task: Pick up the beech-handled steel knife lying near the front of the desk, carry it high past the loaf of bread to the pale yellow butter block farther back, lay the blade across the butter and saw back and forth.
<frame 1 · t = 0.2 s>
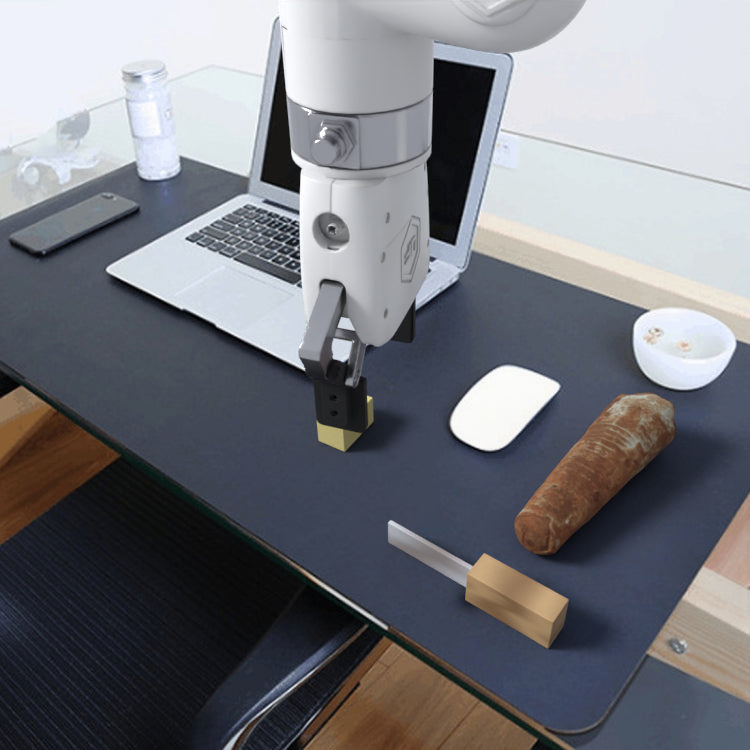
hand: (369, 378, 52), 18 cm above the table, tool pointing down, fingers open, 9 cm apart
bread: (594, 497, 68), on the table
butter: (346, 431, 75), on the table
knife: (513, 612, 59), on the table
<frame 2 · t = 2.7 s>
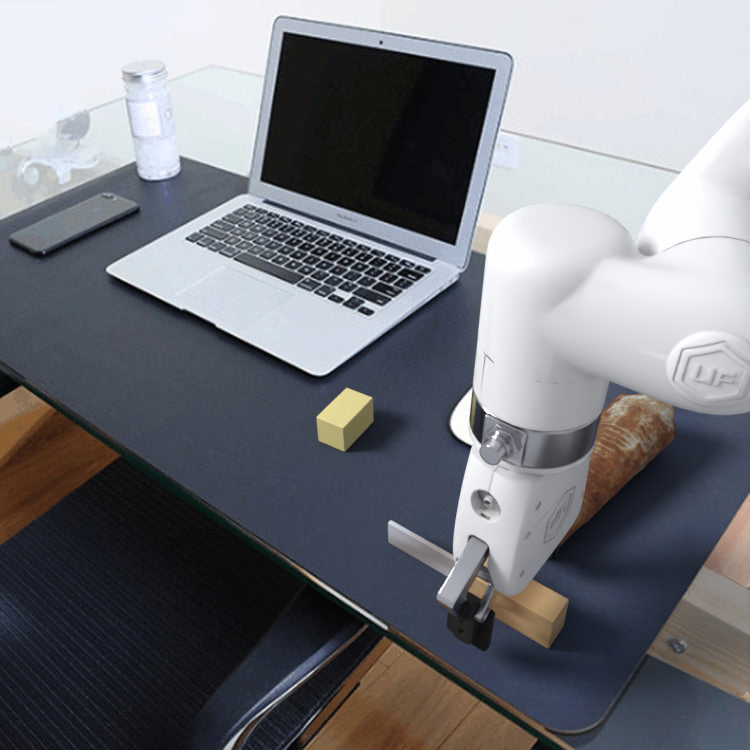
hand: (504, 590, 58), 3 cm above the table, tool pointing down, fingers open, 9 cm apart
bread: (593, 497, 68), on the table, touching gripper
everything else where it was.
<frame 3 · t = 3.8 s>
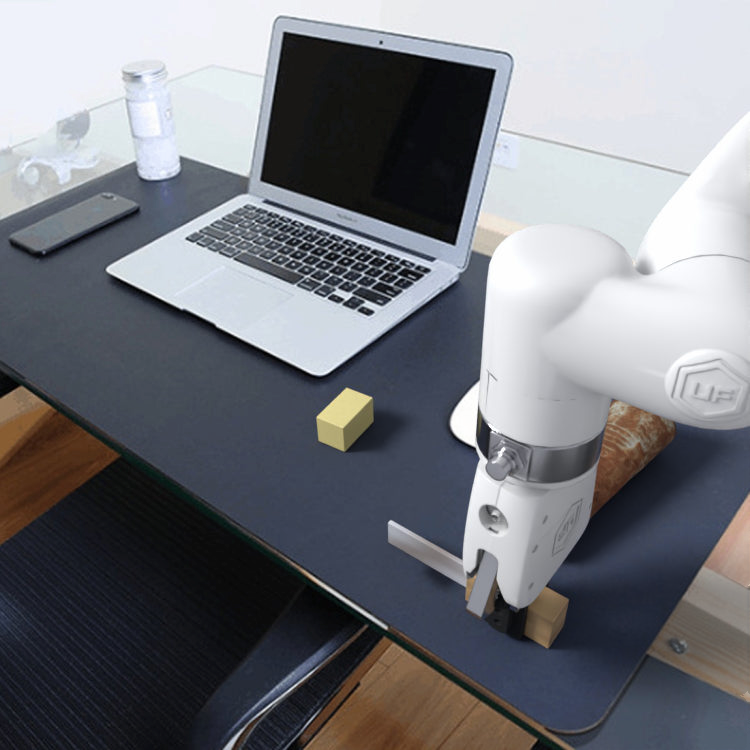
hand: (513, 611, 59), 0 cm above the table, tool pointing down, fingers closed on knife, 2 cm apart
bread: (593, 496, 68), on the table
knife: (513, 612, 59), on the table, touching gripper
everything else where it was.
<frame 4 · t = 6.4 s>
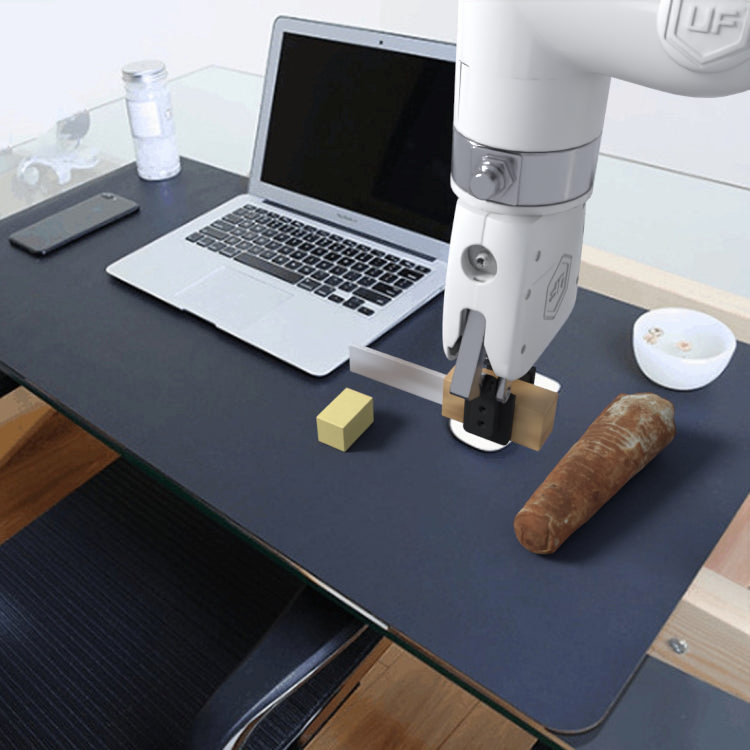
hand: (496, 420, 53), 15 cm above the table, tool pointing down, fingers closed on knife, 2 cm apart
knife: (496, 422, 53), point 15 cm above the table, touching gripper
everything else where it was.
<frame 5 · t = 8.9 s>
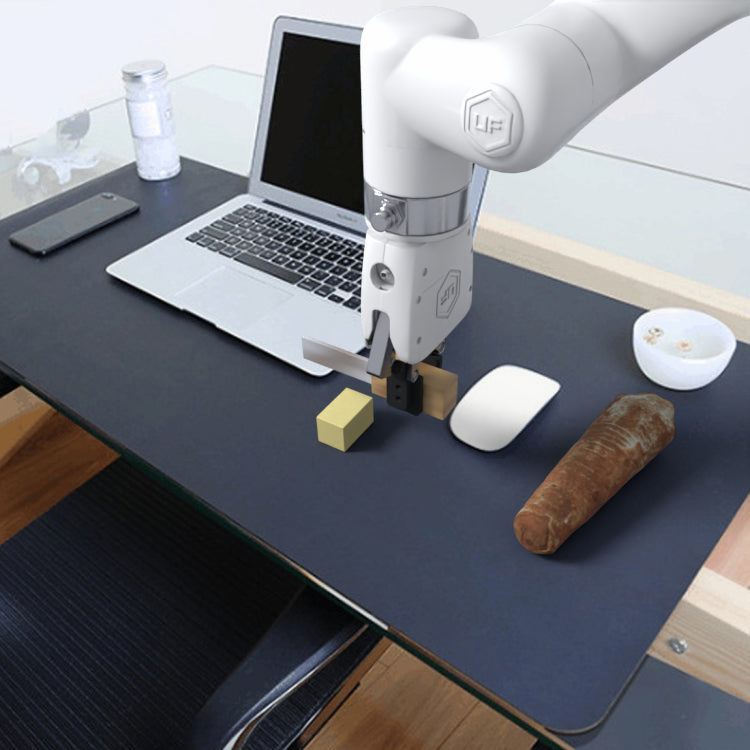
hand: (414, 397, 68), 7 cm above the table, tool pointing down, fingers closed on knife, 2 cm apart
knife: (413, 398, 68), point 7 cm above the table, touching gripper
everything else where it was.
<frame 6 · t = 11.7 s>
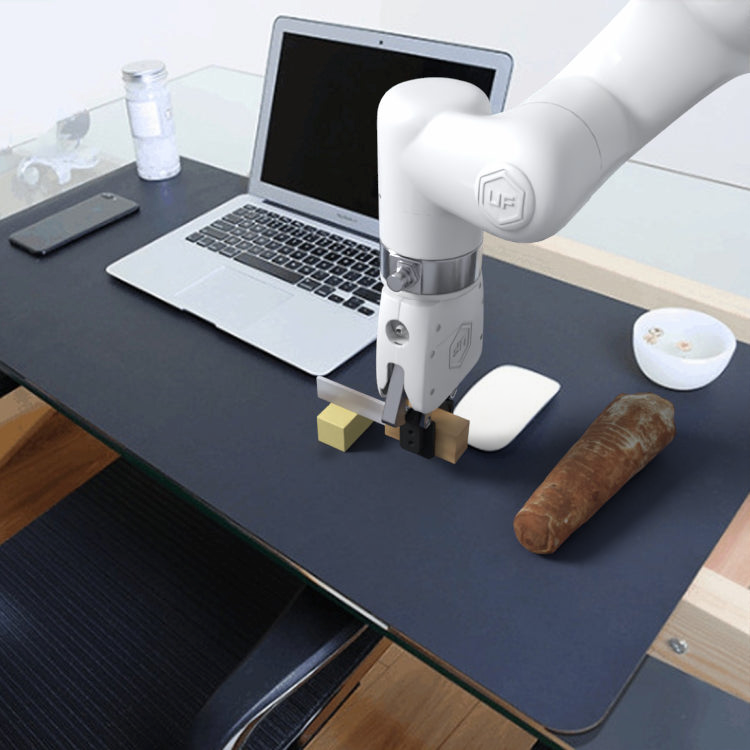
hand: (426, 439, 70), 3 cm above the table, tool pointing down, fingers closed on knife, 2 cm apart
butter: (346, 431, 75), on the table, touching knife
knife: (425, 441, 70), point 3 cm above the table, touching butter, gripper
everything else where it was.
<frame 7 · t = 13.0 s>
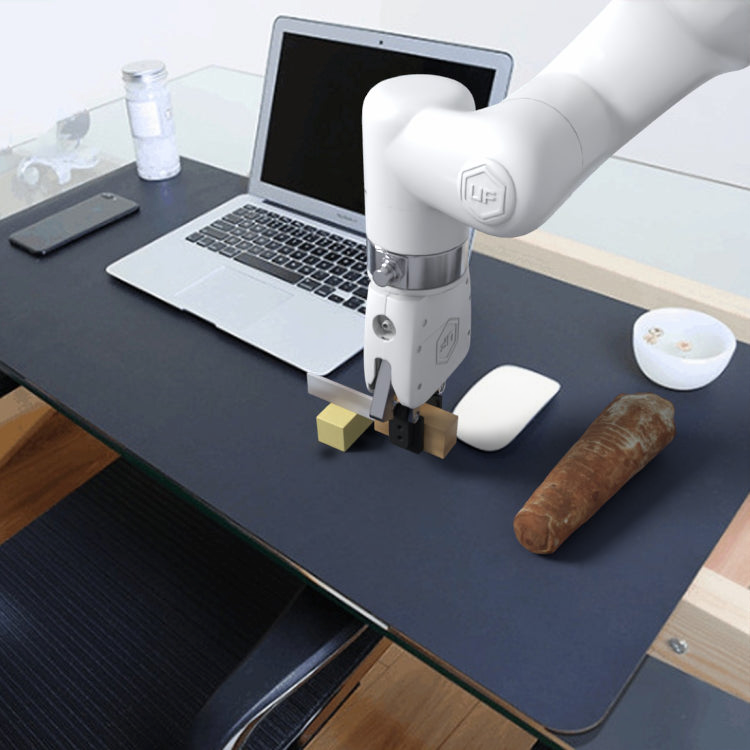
hand: (415, 435, 70), 3 cm above the table, tool pointing down, fingers closed on knife, 2 cm apart
knife: (414, 436, 70), point 3 cm above the table, touching butter, gripper
everything else where it was.
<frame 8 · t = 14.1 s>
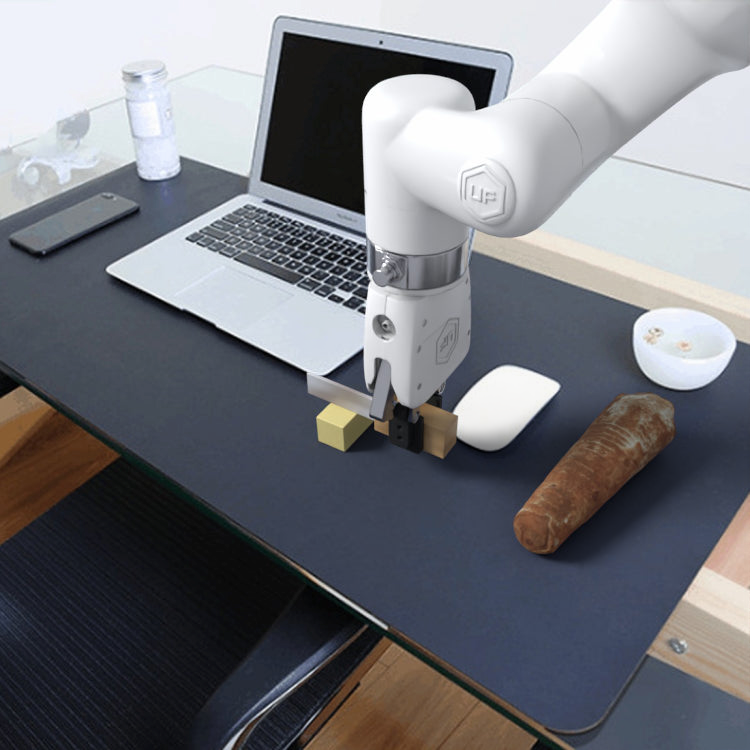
hand: (415, 435, 70), 3 cm above the table, tool pointing down, fingers closed on knife, 2 cm apart
knife: (414, 436, 70), point 3 cm above the table, touching butter, gripper
everything else where it was.
at the end: knife touching butter, gripper; the gripper is holding knife; butter moved 0.0 cm from its start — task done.
